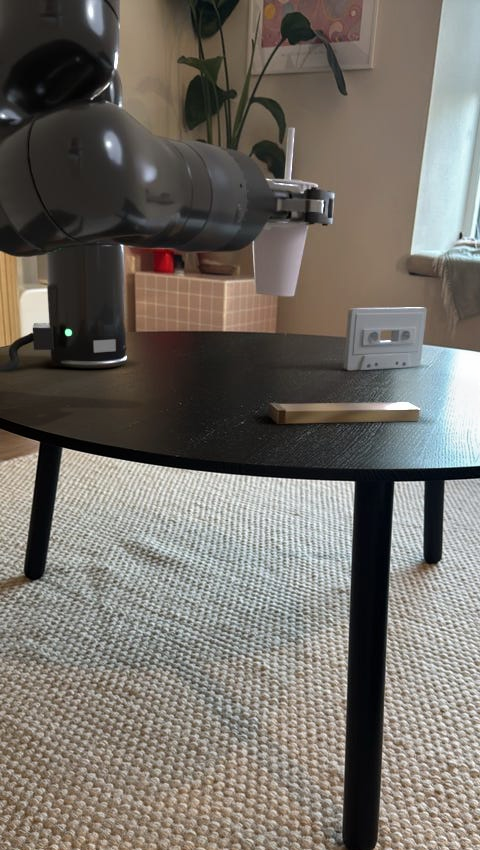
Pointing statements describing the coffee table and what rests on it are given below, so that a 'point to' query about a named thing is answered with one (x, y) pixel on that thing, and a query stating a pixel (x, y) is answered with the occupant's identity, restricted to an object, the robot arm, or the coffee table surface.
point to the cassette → (384, 354)
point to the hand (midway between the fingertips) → (289, 209)
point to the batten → (343, 412)
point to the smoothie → (280, 245)
